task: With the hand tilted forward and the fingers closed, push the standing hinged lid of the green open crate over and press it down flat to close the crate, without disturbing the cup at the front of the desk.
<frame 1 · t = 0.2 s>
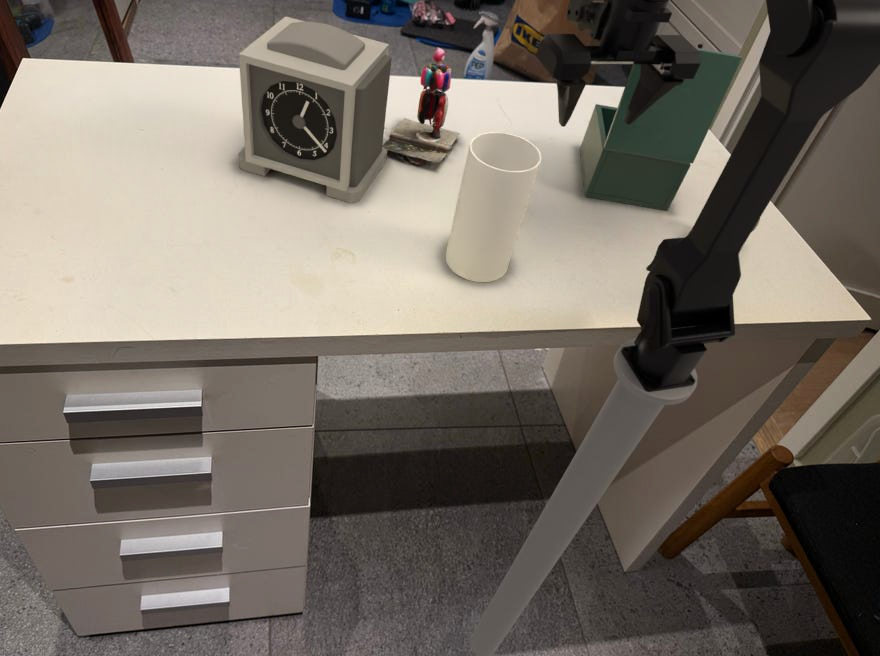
hand: (594, 123, 83), 15 cm above the table, tool pointing down, fingers open, 9 cm apart
lid: (669, 104, 88), point 15 cm above the table, hinge at 85.0°
alarm clock: (314, 163, 96), on the table
statue: (419, 148, 103), on the table
cup: (476, 262, 86), on the table
green open crate: (621, 178, 103), on the table
pocket watch: (712, 246, 94), on the table
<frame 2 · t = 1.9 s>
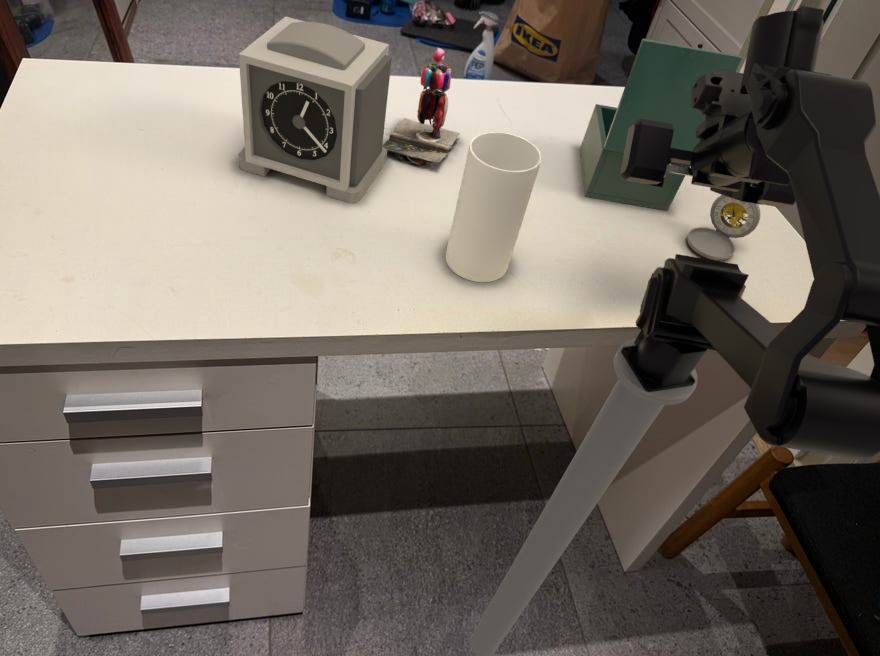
hand: (680, 180, 79), 14 cm above the table, tool tilted 45°, fingers open, 7 cm apart
nothing on the table moved.
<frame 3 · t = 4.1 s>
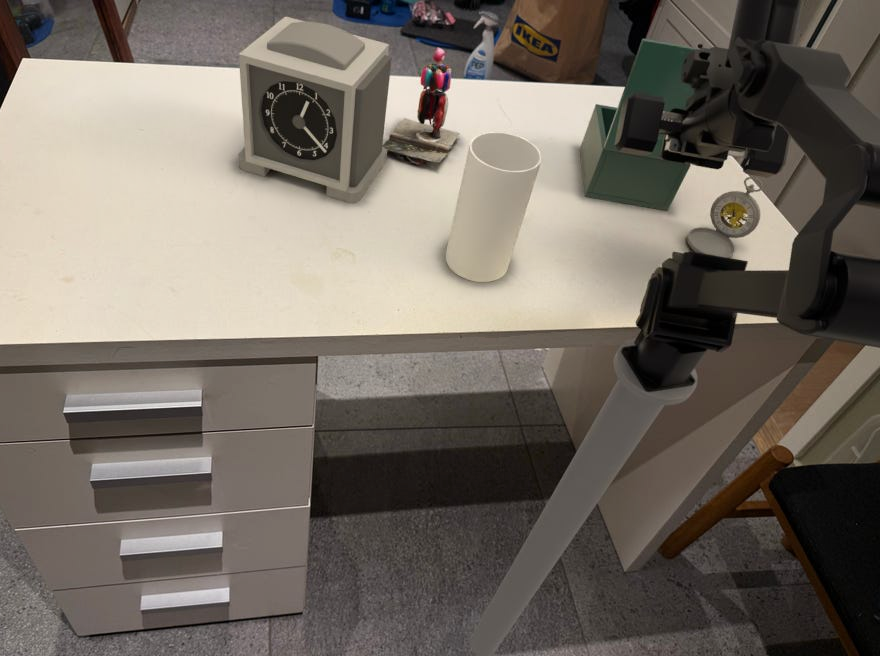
hand: (672, 153, 83), 13 cm above the table, tool tilted 45°, fingers closed
nothing on the table moved.
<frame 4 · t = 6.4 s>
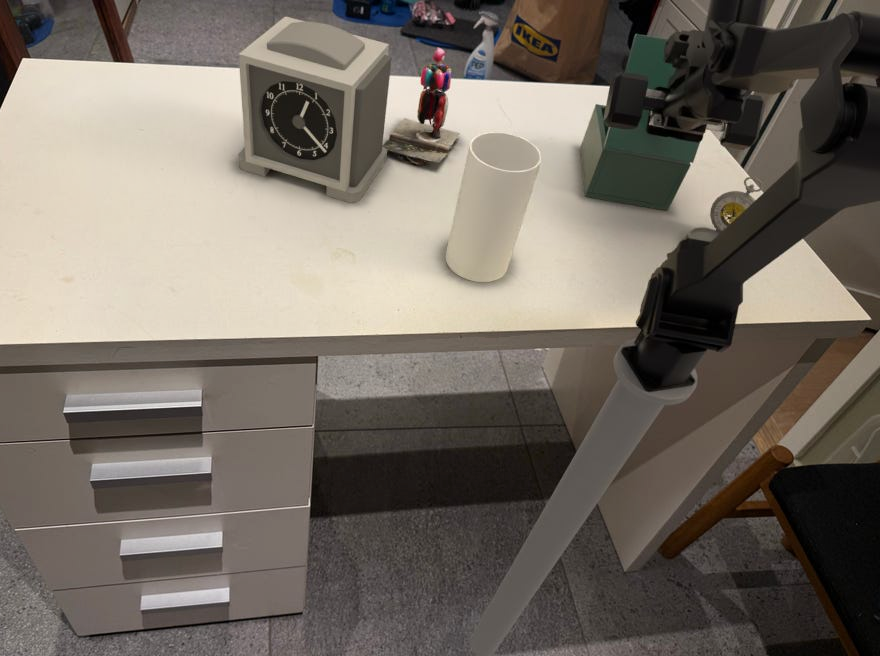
hand: (657, 129, 91), 12 cm above the table, tool tilted 45°, fingers closed, pressing on lid
lid: (665, 100, 89), point 15 cm above the table, hinge at 67.3°, touching gripper
everything else where it was.
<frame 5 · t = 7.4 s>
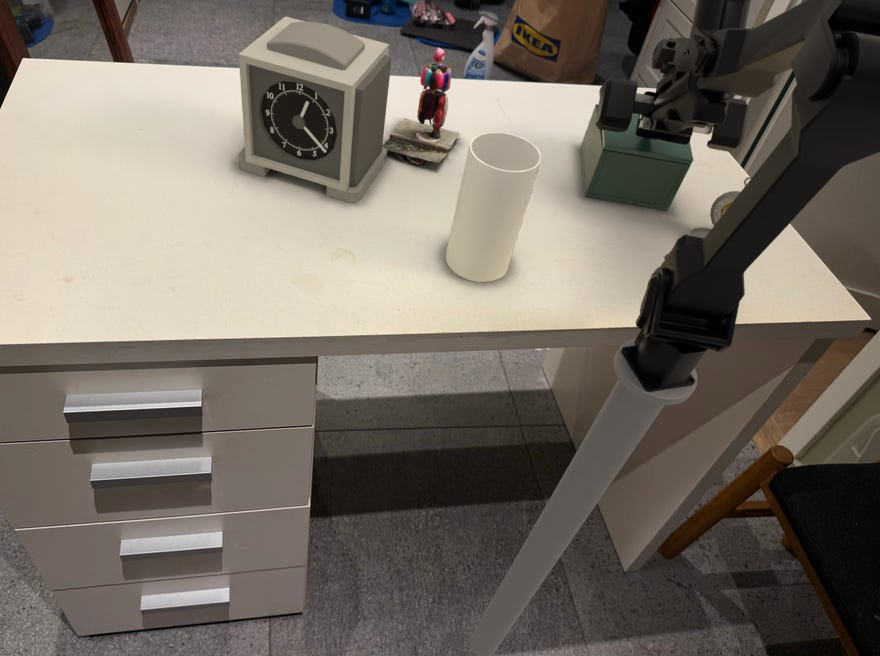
hand: (647, 132, 94), 9 cm above the table, tool tilted 45°, fingers closed, pressing on lid
lid: (644, 124, 97), point 9 cm above the table, hinge at 6.3°, touching gripper
everything else where it was.
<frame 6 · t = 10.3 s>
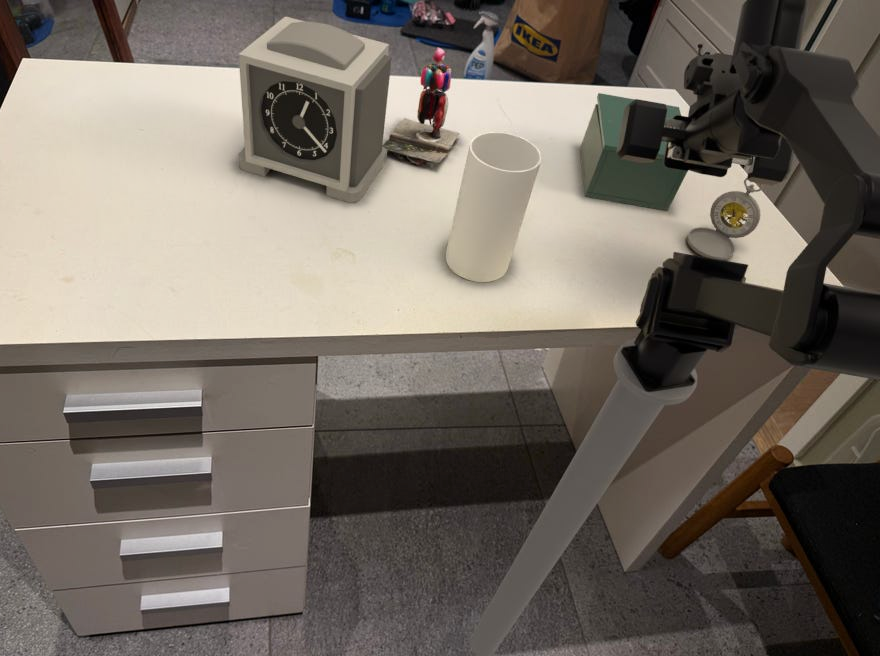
hand: (674, 161, 82), 13 cm above the table, tool tilted 45°, fingers closed
lid: (642, 127, 97), point 9 cm above the table, hinge at 2.2°
everything else where it was.
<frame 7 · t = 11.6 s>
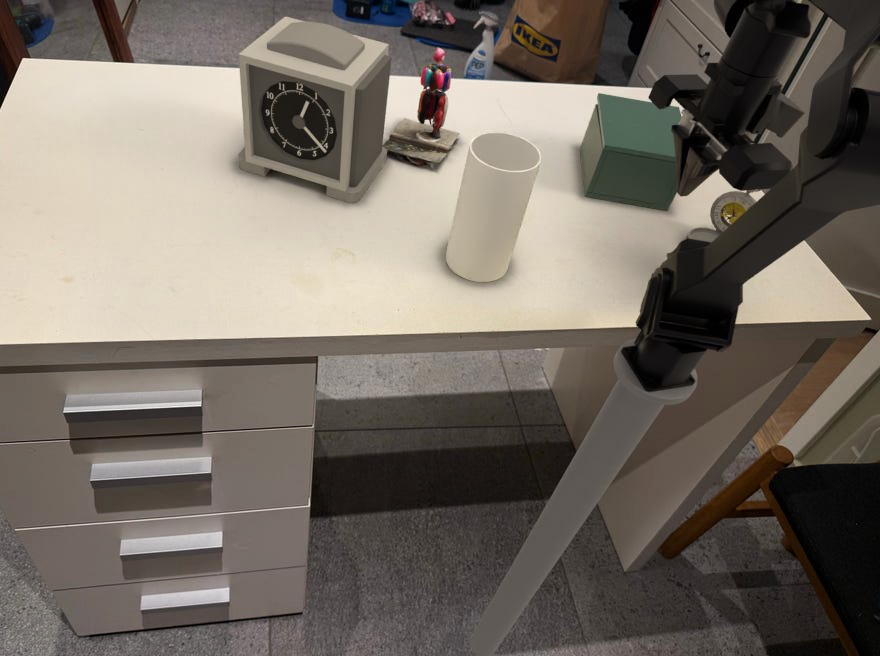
hand: (682, 194, 78), 13 cm above the table, tool pointing down, fingers closed
nothing on the table moved.
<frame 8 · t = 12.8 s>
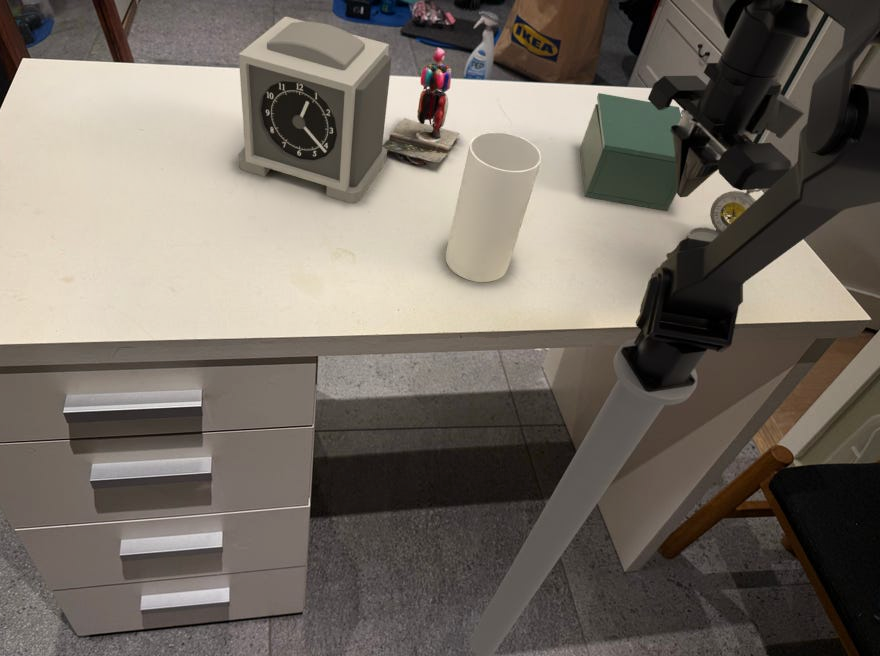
hand: (681, 195, 78), 13 cm above the table, tool pointing down, fingers closed
nothing on the table moved.
at the end: lid at +2° (first picture: +85°); cup moved 0.2 cm from its start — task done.
